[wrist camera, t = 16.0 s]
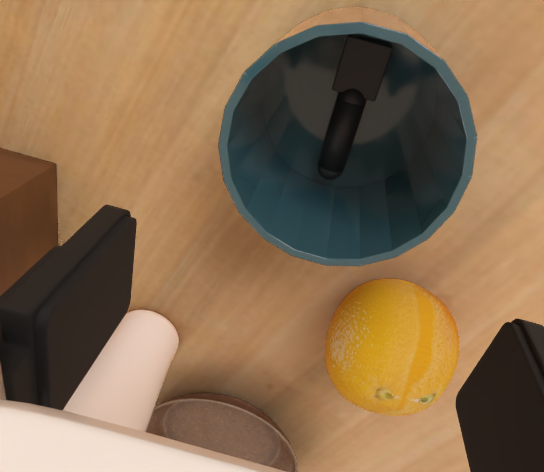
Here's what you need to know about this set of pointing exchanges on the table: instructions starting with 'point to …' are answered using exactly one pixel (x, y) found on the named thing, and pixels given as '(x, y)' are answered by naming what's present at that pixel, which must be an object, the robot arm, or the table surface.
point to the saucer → (224, 429)
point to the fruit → (391, 347)
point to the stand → (25, 214)
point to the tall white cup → (128, 372)
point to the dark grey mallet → (352, 98)
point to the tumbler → (364, 152)
